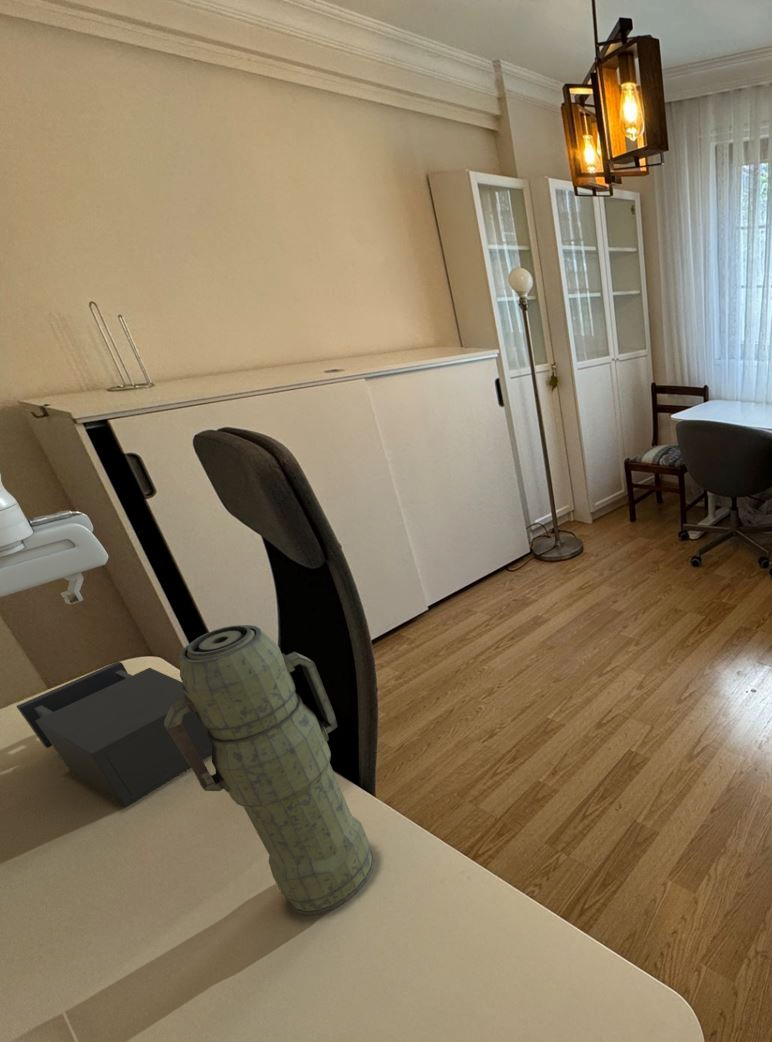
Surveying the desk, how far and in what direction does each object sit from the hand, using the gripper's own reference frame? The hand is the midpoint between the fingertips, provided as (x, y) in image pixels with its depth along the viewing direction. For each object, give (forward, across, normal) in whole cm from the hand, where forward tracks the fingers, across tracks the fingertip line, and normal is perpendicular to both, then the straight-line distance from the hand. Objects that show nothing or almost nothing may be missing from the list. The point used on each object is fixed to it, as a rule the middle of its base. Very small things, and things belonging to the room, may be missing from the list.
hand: (31, 617), depth 81 cm
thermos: (+21, +1, +60) cm, 64 cm away
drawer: (+21, -1, +3) cm, 21 cm away
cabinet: (+22, -1, +15) cm, 26 cm away
